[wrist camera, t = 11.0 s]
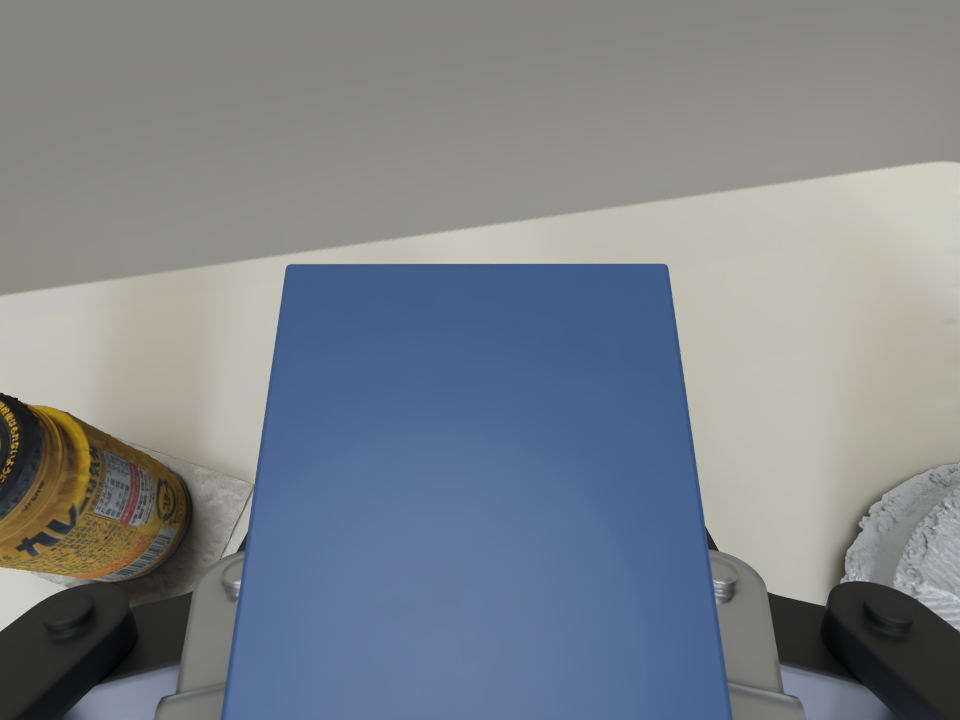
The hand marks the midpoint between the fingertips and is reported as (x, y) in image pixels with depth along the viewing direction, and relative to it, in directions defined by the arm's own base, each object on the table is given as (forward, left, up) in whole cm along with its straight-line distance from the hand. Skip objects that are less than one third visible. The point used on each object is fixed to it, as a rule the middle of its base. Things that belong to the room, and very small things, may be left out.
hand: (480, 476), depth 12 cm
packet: (0, -2, -4) cm, 5 cm away
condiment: (-16, +5, -20) cm, 26 cm away
